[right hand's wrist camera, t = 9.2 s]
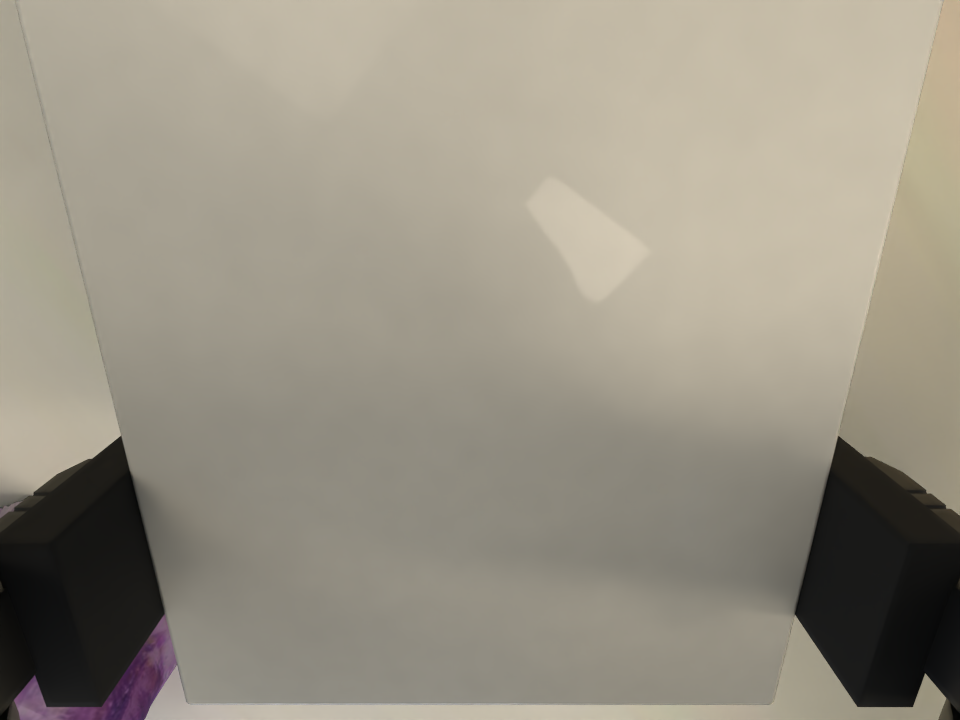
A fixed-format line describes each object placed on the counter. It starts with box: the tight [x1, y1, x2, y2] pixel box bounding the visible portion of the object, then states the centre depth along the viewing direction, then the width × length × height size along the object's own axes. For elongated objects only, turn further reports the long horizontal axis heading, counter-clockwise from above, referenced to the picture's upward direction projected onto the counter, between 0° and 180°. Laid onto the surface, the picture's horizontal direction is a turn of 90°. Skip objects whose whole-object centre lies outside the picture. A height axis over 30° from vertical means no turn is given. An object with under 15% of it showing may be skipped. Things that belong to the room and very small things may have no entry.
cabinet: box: [15, 0, 944, 705], centre depth 11 cm, size 21×10×10 cm, turn 0°
